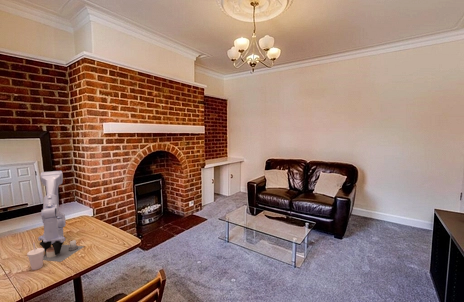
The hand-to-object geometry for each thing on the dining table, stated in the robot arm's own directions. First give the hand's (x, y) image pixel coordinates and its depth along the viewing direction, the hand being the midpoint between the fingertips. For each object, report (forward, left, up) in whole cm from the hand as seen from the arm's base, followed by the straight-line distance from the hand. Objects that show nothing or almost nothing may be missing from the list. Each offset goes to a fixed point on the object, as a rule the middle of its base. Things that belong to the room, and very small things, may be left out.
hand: (52, 253), depth 117 cm
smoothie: (+3, -11, -2) cm, 11 cm away
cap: (0, 0, -1) cm, 1 cm away
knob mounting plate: (+3, +2, -2) cm, 4 cm away
